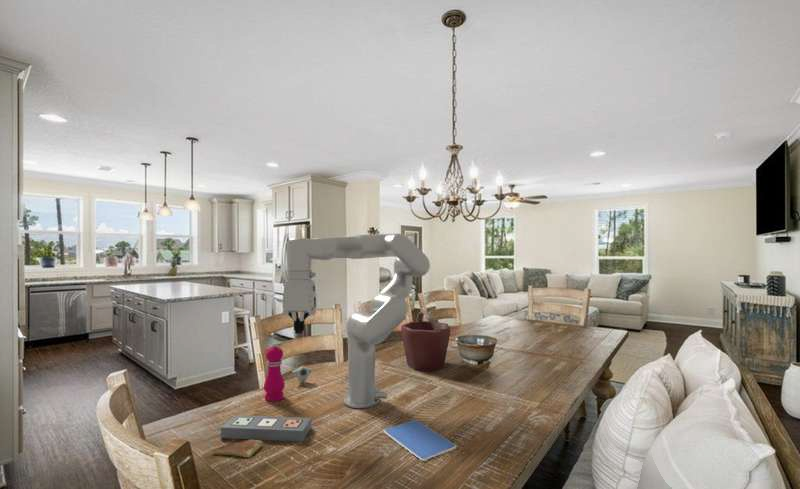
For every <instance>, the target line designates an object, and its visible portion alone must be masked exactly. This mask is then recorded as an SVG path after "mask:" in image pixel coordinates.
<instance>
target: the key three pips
mask: <svg viewBox="0 0 800 489" xmlns="http://www.w3.org/2000/svg"><path fill="white" fill-rule="evenodd" d="M301 423H302V420H287V421H286V422H285V424H284V425H283V426H282V427H283V428H298V427H299V425H300V424H301Z"/></svg>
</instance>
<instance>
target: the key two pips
mask: <svg viewBox="0 0 800 489" xmlns="http://www.w3.org/2000/svg"><path fill="white" fill-rule="evenodd" d="M252 420H253V418H239V419H237V420H236V421H235V422H234V423H233V424H232V425H237V426H247V425H248V424H249V423H250V422H251V421H252Z"/></svg>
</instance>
